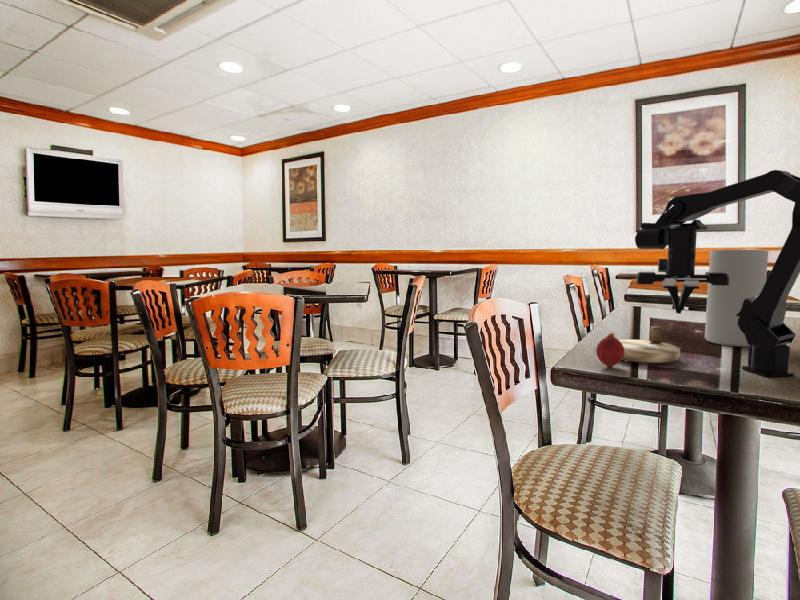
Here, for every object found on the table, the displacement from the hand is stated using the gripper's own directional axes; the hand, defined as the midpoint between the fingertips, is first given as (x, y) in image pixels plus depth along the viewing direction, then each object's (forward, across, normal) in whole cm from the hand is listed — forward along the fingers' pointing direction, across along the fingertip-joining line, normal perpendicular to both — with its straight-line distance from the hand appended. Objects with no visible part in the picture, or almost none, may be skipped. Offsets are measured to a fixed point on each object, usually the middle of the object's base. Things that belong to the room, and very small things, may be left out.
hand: (678, 313), depth 112 cm
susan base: (+10, +8, +6) cm, 14 cm away
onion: (+11, +15, +18) cm, 25 cm away
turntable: (+10, +8, +6) cm, 14 cm away
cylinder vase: (+11, -15, -20) cm, 28 cm away
